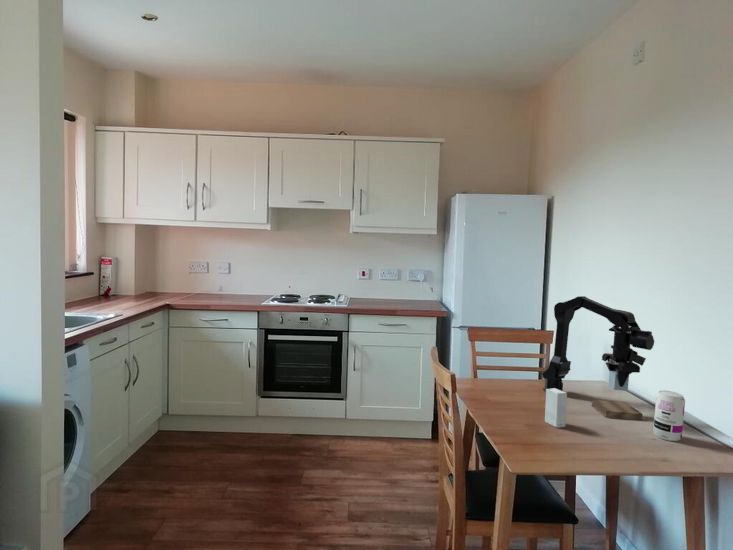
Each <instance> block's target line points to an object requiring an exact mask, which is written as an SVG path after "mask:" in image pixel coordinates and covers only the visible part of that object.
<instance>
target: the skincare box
mask: <svg viewBox="0 0 733 550" xmlns="http://www.w3.org/2000/svg"><path fill="white" fill-rule="evenodd" d="M567 398H568V393H567V392H565V391H561V390H558V389H556V388H551V389H546V392H545V406H544V407H545V409H544V410H545V412H544V422H545V423H547V424H549V425H551V426H553V427H555V428H565V427H566V424H567V422H566V421H567V405H568V403H567V402H568V399H567Z"/></svg>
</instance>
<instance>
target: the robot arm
mask: <svg viewBox="0 0 733 550" xmlns="http://www.w3.org/2000/svg"><path fill="white" fill-rule="evenodd" d="M582 308H584V309H585V310H588V311H590V312H592V313H594V314H597V315H599V316H601V317H604V318H605V319H607V321H609V323H611V324H612V327H610V328H609V329H608V331H609V332H614V333H613V334H614V335H613V345H610V348H611V349H612V353H608V352H607V353H603V354H602V356H601V361H603V362H605V365H606V368H607V370H608V372H609V373H610V371H616V373H617V377H618V381H619V385H620V387H623V386H624V384H625V382H626V380H627V378H628V376H629V377H630V375H631V374H632V373H633V374H634V373H640V372H641V367H640V366H642V367H643V365H644V363H645V361H646V359H647V358H646V357H643V356H641V355H639V353H638V351H636V350H634V349H633V348H635V349H636V348H637V349H642V350H647V351H651V350H652V349H653V348H654V346H655V339H654V338H655V337H654V336H653V332H652V330H651V331H650V330H643V329H642V328H641V327H640V325H639V324H638V323H637V321H636V317H635V314H634V313H632V312H631V311H626V310H622V309H616V308H612V307H610V306H608V305H605V304H602V303H601V302H597V301H595V300H592V299H590V298H588V297H587V296H584V295H583V296H580V295H579V296H576V297H575V298H572V299H568V300H565V301H563V302H557V303H556V304H554V306H553V314H554V316H553V317H554V318H555V321H556V330H555V331H556V332H555V340H554V351H553V356H552V357H551V359H550V361H549V363H548V366H547V367H548V368H547V369H545V371H543V372H542V373H541V375H542V378H543V379H544V388H542V390H543V391H544V392H545V393H546V389H551V388H556V389H558V390H561V391H563V390H564V383H563V379H565V378H566V375H568V374H569V372H570V371H571V363H572V361H570V360H568V358H567V350H568V349H567V348H568V342H569V341H568V340H569V330H570V324H571V322H572V320H573V319H574V316H575V312H577V311H579V310H580V309H582ZM631 346H632V347H633V348H631ZM563 392H564V391H563Z"/></svg>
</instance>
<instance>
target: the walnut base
mask: <svg viewBox="0 0 733 550" xmlns="http://www.w3.org/2000/svg"><path fill="white" fill-rule="evenodd" d="M591 400H592V401H591V407H592V408H593V409H595V410H596V411H597V412H599V413H600V414H601V415H602V416H604V418H607V419H608V418H609V419H618V420H620V419H622V420H633V421H643V413H642V412H641V411H639V410H638V409H636V408H635V407H633V406H632V405H630V404H629V403H628V402H626V401H625V402H624V401H614V400H613V401H612V400H602V399H601V400H598V399H591Z"/></svg>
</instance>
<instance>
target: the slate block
mask: <svg viewBox="0 0 733 550" xmlns="http://www.w3.org/2000/svg"><path fill="white" fill-rule="evenodd" d="M629 378H630V375H629V376H628V378H627V380H626V382H625V384H624V386H623V387H620V385H619V381H618V377H617V373H616V371H610V372H609V375H608V387H609V388H611V390H613V391H624V392H625V391H626V392H629Z"/></svg>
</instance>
